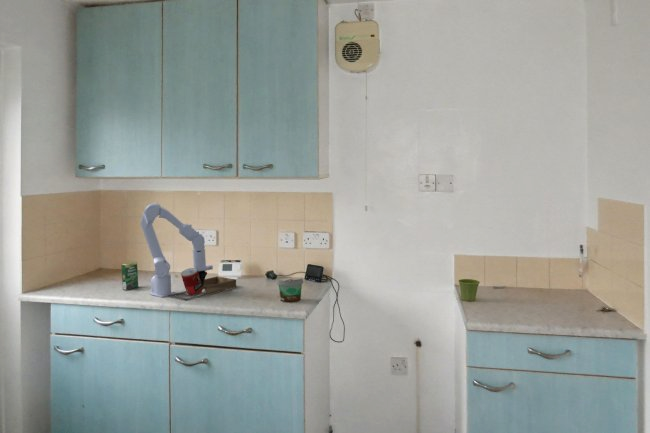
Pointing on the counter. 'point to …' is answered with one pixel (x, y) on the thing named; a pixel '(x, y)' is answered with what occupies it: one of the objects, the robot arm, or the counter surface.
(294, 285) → the food container
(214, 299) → the counter surface
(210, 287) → the wooden tray
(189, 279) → the canned food
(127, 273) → the coffee box
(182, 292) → the frame
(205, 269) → the robot arm
